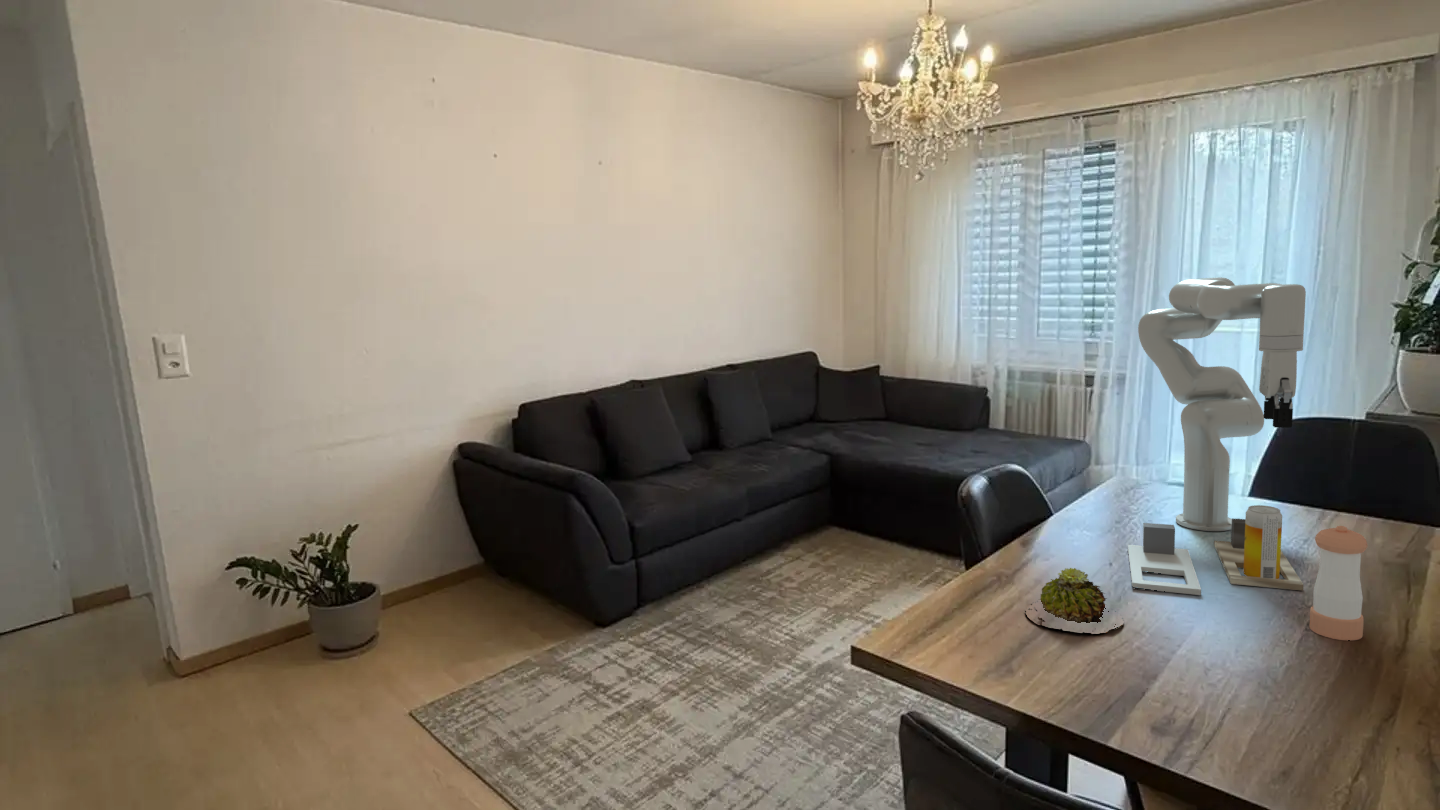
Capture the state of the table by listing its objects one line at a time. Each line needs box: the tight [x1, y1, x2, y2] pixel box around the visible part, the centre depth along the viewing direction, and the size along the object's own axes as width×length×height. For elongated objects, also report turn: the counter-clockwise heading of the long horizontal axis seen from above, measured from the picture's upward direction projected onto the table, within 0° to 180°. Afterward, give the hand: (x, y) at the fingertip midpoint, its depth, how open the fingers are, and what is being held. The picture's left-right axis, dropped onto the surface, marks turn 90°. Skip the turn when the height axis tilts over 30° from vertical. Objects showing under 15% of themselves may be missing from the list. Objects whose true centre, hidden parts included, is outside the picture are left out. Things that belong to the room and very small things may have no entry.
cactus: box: [1039, 567, 1120, 630], centre depth 144 cm, size 17×16×10 cm
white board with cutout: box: [1127, 522, 1202, 596], centre depth 163 cm, size 24×12×7 cm, turn 154°
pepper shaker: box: [1308, 525, 1369, 641], centre depth 131 cm, size 7×7×19 cm
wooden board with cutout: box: [1213, 518, 1305, 592], centre depth 162 cm, size 24×12×7 cm, turn 154°
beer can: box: [1242, 504, 1283, 579], centre depth 155 cm, size 6×6×15 cm
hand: (1277, 422), depth 162 cm, fingers open, 9 cm apart
